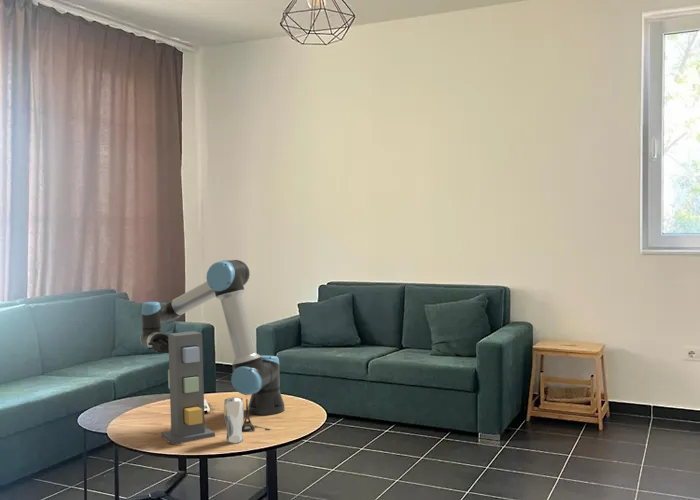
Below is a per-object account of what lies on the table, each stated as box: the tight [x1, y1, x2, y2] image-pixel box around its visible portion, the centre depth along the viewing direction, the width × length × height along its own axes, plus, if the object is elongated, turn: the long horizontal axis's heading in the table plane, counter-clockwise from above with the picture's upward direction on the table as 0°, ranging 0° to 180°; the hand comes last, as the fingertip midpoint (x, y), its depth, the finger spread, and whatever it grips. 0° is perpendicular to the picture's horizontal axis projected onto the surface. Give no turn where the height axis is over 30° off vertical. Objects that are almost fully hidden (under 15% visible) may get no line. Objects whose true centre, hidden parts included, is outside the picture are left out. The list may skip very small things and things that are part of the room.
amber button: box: [183, 406, 203, 425], centre depth 250 cm, size 16×7×7 cm, turn 32°
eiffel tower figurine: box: [226, 398, 272, 433], centre depth 257 cm, size 15×10×13 cm
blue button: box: [168, 341, 200, 363], centre depth 250 cm, size 16×7×7 cm, turn 32°
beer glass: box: [223, 396, 245, 445], centre depth 243 cm, size 7×7×15 cm
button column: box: [161, 330, 216, 445], centre depth 250 cm, size 12×16×38 cm
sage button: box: [167, 369, 199, 393], centre depth 252 cm, size 16×7×7 cm, turn 32°
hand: (177, 349), depth 257 cm, fingers closed
